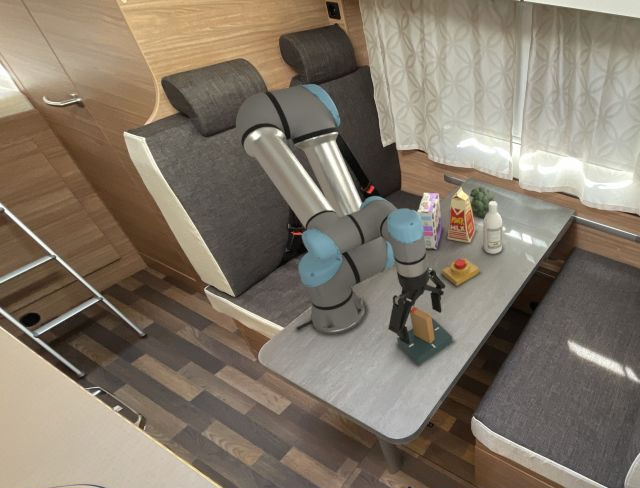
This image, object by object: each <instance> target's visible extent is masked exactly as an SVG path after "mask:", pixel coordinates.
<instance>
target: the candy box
mask: <svg viewBox="0 0 640 488" xmlns="http://www.w3.org/2000/svg"><path fill="white" fill-rule="evenodd" d="M416 212H418V213H419V215H420V217H421V221H422V224H423V228H424V239H425V248H426V250H438V246H439V242H440V239H441V236H442V235H441V234H442V232H443V223H442V214H441V213H442V212H441V203H440V193H438V192H423V195H422V197H421V200H420V203H419V206H418V209H417V211H416Z"/></svg>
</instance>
